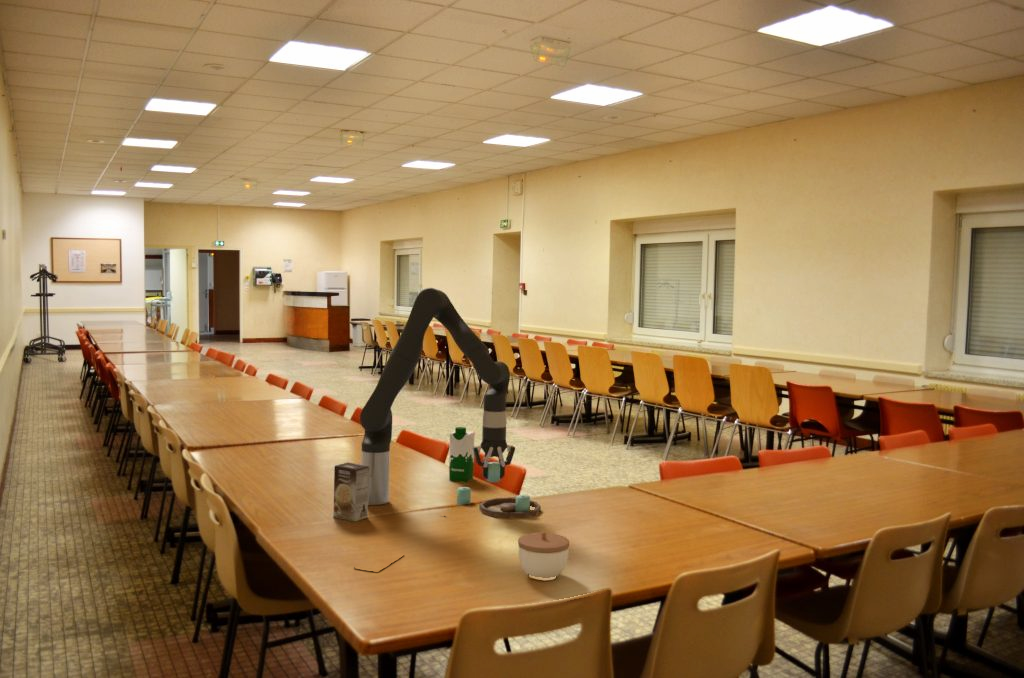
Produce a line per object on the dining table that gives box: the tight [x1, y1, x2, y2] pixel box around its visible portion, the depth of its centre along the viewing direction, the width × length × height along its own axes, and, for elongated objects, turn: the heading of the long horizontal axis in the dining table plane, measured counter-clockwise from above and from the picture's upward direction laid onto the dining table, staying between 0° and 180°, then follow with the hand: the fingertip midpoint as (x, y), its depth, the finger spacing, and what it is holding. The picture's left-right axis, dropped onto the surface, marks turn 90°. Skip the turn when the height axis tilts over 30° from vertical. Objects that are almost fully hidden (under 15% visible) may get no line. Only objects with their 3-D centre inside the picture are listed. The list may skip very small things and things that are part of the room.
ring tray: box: [478, 497, 542, 519], centre depth 248 cm, size 19×19×3 cm
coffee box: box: [333, 462, 369, 522], centre depth 238 cm, size 9×6×16 cm
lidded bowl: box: [517, 531, 570, 578], centre depth 191 cm, size 13×13×11 cm
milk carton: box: [448, 426, 476, 483], centre depth 293 cm, size 9×9×20 cm
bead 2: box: [485, 461, 501, 483], centre depth 246 cm, size 4×4×6 cm
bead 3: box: [515, 494, 531, 512], centre depth 244 cm, size 4×4×6 cm
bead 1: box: [456, 486, 472, 507], centre depth 257 cm, size 4×4×6 cm
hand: (493, 478), depth 246 cm, fingers closed on bead 2, 4 cm apart
